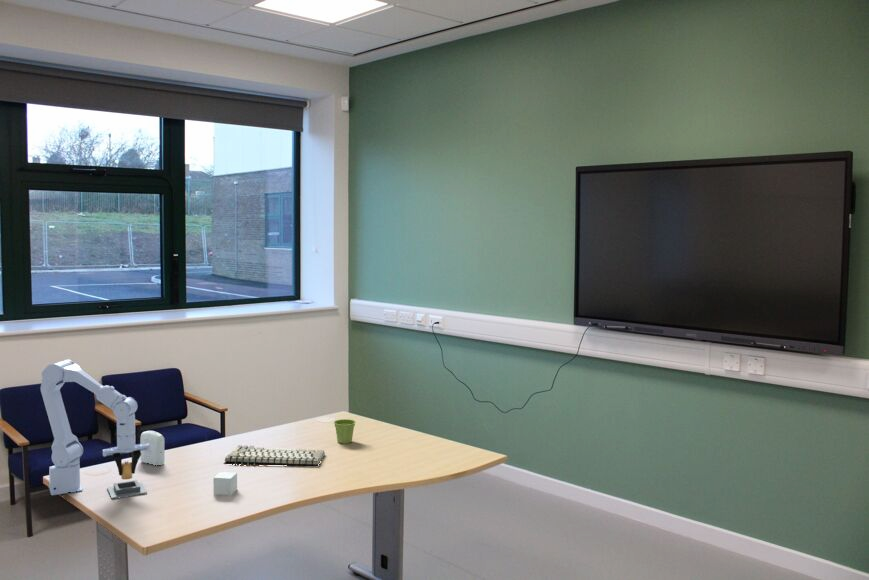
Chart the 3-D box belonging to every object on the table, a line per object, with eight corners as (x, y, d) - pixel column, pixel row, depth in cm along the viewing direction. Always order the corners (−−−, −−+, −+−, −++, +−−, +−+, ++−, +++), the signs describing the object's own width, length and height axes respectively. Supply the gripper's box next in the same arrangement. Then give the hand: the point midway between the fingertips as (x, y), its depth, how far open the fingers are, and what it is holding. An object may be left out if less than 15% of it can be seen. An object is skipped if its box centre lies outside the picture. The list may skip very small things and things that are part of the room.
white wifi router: (166, 464, 276) (166, 432, 275) (157, 467, 273) (156, 434, 272) (148, 459, 281) (147, 428, 280) (138, 462, 278) (138, 430, 277)
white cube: (220, 488, 252) (220, 471, 251) (237, 489, 251) (237, 472, 251) (213, 494, 246) (213, 477, 245) (230, 495, 245) (230, 478, 245)
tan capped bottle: (122, 480, 245) (121, 463, 244) (120, 477, 247) (120, 461, 247) (133, 478, 246) (132, 462, 246) (131, 475, 249) (131, 459, 249)
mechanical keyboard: (327, 454, 294) (327, 445, 294) (319, 469, 275) (319, 461, 275) (234, 452, 295) (234, 444, 295) (220, 467, 276) (220, 459, 276)
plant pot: (331, 439, 312) (331, 419, 312) (353, 438, 315) (353, 418, 314) (335, 445, 304) (335, 425, 303) (357, 444, 306) (357, 424, 306)
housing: (111, 499, 240) (111, 492, 239) (107, 488, 249) (107, 482, 249) (147, 493, 245) (146, 487, 245) (141, 483, 255) (141, 477, 255)
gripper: (104, 440, 238) (105, 480, 240) (150, 434, 246) (151, 473, 247) (101, 435, 244) (102, 474, 246) (147, 429, 252) (147, 467, 253)
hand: (126, 473), depth 247 cm, fingers closed on tan capped bottle, 3 cm apart
